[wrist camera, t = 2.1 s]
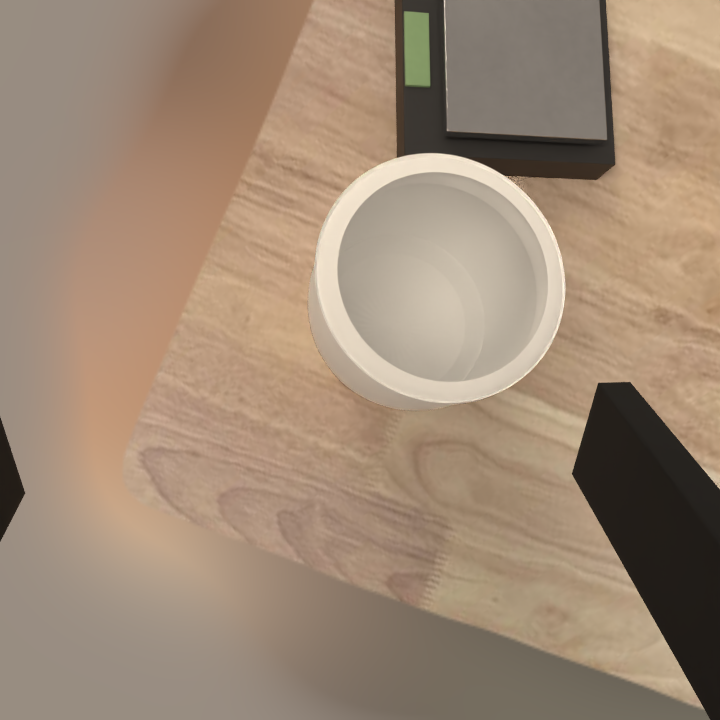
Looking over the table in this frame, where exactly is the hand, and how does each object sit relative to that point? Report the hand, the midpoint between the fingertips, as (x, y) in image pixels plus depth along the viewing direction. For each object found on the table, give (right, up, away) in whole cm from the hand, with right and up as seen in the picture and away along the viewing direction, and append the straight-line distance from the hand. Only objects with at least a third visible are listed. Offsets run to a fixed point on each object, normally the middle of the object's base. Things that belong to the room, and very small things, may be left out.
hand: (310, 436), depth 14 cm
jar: (+3, +3, +26) cm, 26 cm away
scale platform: (+11, +22, +26) cm, 36 cm away
